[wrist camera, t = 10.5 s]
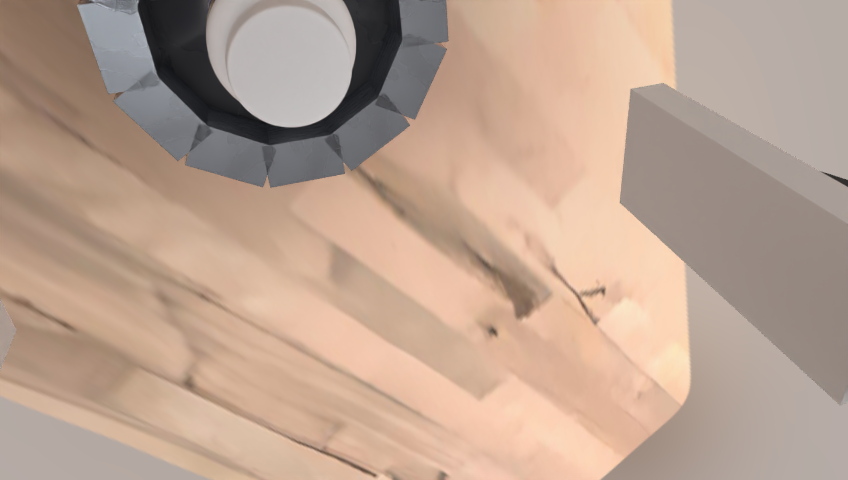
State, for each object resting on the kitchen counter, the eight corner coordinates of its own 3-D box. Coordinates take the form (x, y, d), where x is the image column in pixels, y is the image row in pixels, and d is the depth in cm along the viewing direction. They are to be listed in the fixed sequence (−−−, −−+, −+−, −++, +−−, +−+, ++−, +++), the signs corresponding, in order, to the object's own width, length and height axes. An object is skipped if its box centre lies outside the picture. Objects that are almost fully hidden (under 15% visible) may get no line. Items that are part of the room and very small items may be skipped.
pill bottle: (183, -31, 27) (170, 19, 19) (303, -79, 27) (335, -48, 20) (243, 87, 30) (251, 170, 22) (351, 43, 30) (394, 110, 23)
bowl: (21, -180, 24) (-6, -181, 21) (422, -213, 27) (446, -219, 24) (147, 187, 32) (140, 222, 29) (444, 133, 35) (465, 160, 32)
